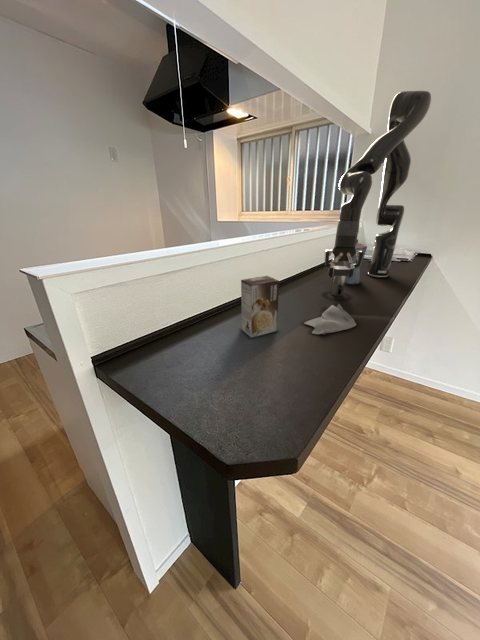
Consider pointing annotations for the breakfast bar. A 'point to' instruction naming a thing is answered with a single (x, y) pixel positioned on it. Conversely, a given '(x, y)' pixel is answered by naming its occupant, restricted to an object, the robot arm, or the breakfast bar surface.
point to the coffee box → (259, 305)
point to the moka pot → (356, 272)
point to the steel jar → (339, 280)
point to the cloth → (332, 321)
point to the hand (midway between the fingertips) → (339, 277)
